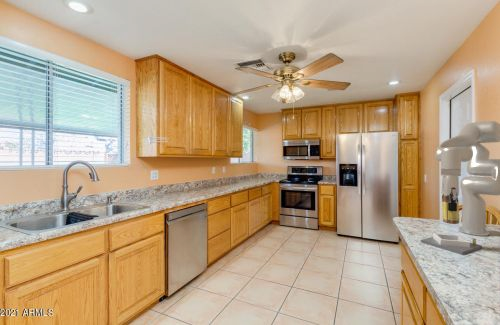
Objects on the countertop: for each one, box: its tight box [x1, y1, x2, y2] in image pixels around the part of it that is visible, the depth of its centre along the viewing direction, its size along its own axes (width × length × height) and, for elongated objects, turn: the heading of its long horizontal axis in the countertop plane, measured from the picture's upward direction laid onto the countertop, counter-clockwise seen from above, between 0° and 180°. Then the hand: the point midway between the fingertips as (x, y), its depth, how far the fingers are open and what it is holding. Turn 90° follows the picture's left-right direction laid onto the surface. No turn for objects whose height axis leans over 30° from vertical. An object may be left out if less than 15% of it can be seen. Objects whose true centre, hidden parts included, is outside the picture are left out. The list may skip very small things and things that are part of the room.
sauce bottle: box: [441, 194, 460, 225], centre depth 114 cm, size 7×6×20 cm
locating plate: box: [420, 232, 483, 255], centre depth 115 cm, size 17×17×4 cm
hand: (450, 209), depth 115 cm, fingers closed on sauce bottle, 6 cm apart
